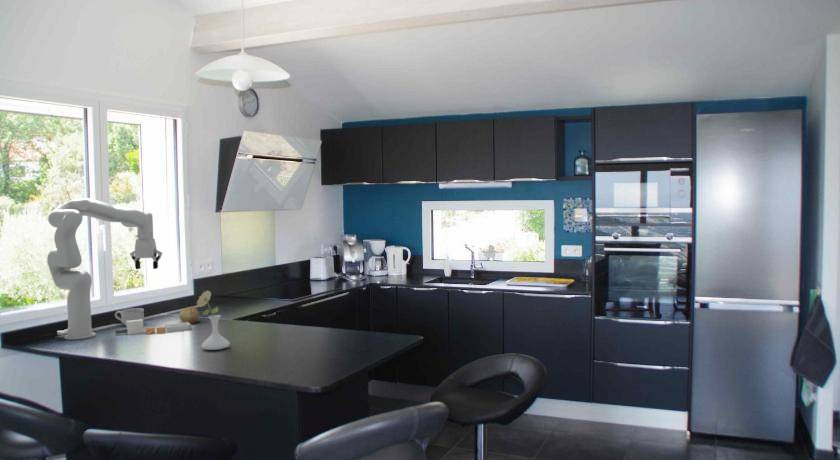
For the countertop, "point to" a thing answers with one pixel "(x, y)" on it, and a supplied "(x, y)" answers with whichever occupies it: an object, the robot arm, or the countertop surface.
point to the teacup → (130, 314)
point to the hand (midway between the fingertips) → (146, 268)
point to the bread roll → (189, 315)
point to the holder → (177, 327)
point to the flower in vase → (215, 339)
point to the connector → (132, 327)
